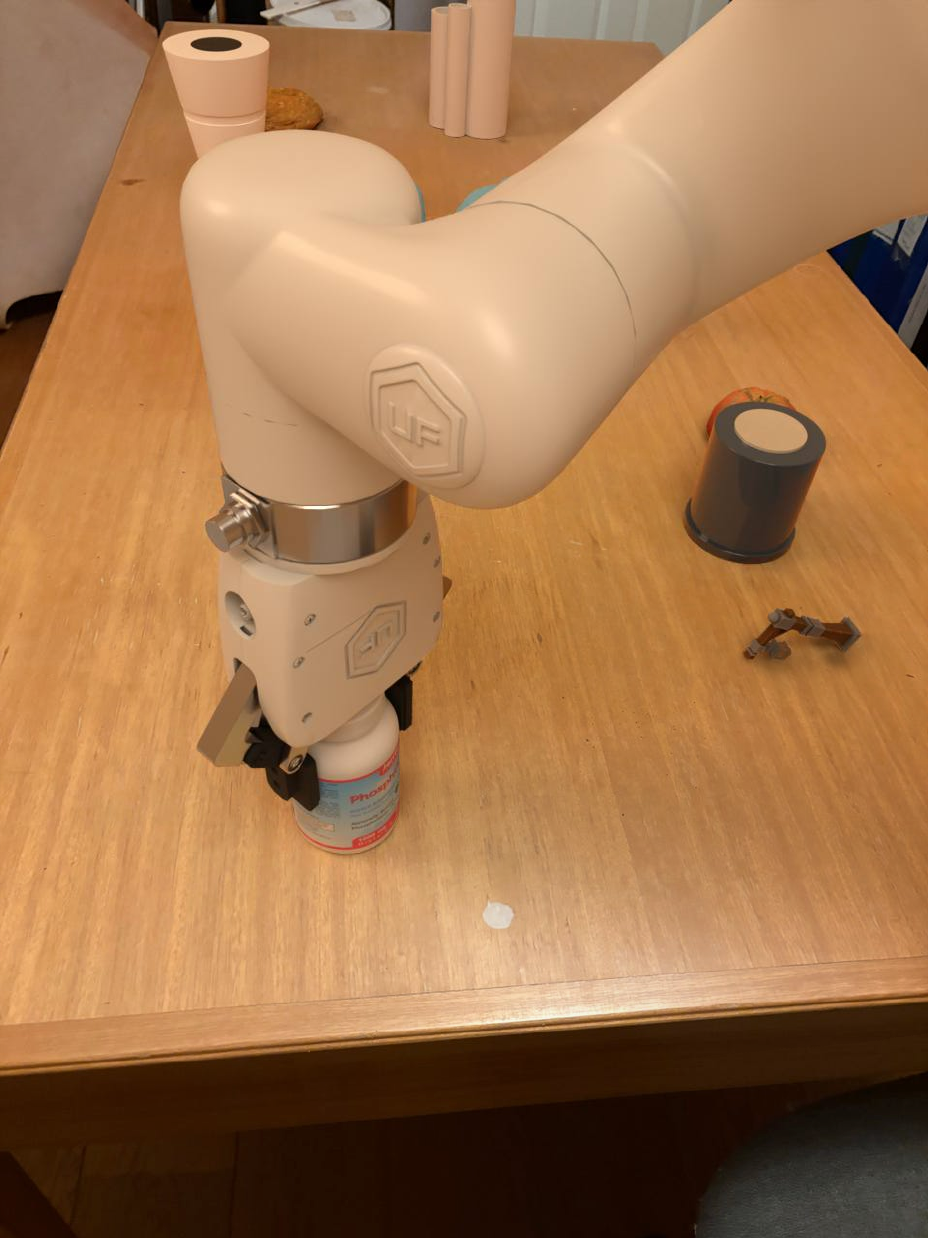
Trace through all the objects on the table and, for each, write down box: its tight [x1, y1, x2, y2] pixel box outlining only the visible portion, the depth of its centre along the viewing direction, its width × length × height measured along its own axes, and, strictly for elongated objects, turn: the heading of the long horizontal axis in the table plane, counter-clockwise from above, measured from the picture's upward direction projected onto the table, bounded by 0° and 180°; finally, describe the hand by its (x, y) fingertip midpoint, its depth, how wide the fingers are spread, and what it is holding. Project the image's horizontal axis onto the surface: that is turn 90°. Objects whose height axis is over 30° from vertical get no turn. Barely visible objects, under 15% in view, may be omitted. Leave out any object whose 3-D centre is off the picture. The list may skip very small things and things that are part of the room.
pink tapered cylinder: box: [162, 28, 270, 160], centre depth 101 cm, size 11×11×18 cm
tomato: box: [706, 386, 797, 439], centre depth 81 cm, size 8×7×7 cm
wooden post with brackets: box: [743, 607, 863, 661], centre depth 63 cm, size 2×8×4 cm, turn 106°
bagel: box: [265, 86, 324, 132], centre depth 128 cm, size 10×11×5 cm
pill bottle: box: [290, 692, 401, 855], centre depth 50 cm, size 6×6×11 cm
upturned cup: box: [682, 402, 827, 565], centre depth 70 cm, size 9×9×9 cm
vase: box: [428, 0, 517, 140], centre depth 125 cm, size 11×7×20 cm, turn 82°
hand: (342, 750), depth 50 cm, fingers closed on pill bottle, 6 cm apart
